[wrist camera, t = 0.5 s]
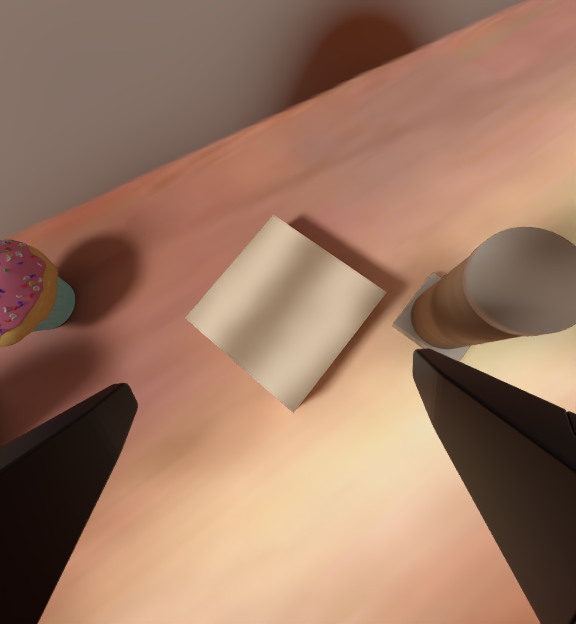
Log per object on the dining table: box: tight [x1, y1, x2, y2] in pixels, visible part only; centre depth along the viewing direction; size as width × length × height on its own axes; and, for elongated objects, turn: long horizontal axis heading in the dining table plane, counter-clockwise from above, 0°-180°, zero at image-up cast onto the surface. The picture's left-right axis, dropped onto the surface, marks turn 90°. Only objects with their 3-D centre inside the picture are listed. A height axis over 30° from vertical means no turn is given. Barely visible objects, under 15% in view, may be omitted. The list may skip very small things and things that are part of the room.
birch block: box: [186, 215, 387, 413], centre depth 23 cm, size 11×11×3 cm
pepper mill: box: [391, 227, 576, 361], centre depth 17 cm, size 5×5×10 cm
